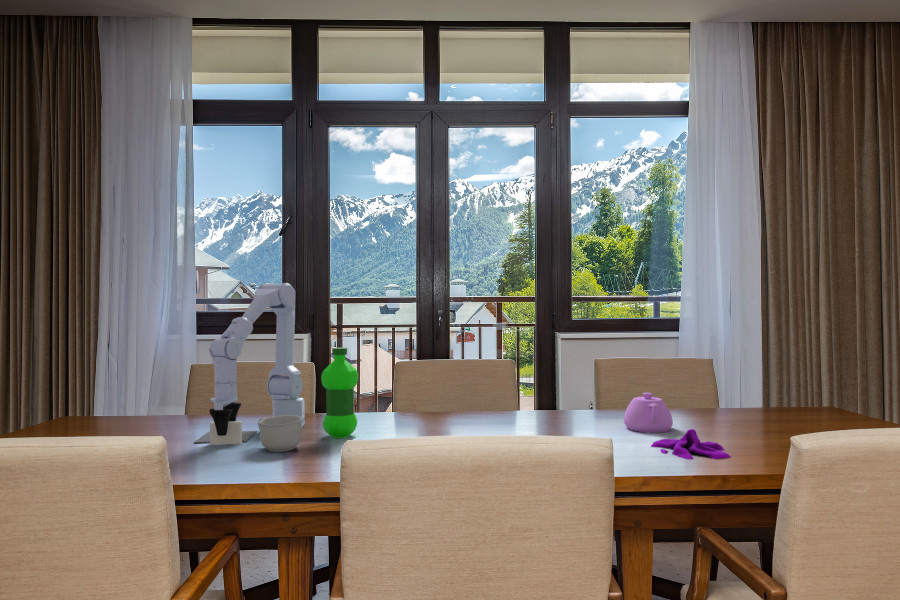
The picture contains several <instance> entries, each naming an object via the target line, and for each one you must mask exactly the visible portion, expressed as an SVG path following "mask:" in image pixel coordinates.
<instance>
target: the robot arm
mask: <svg viewBox="0 0 900 600" xmlns="http://www.w3.org/2000/svg"><path fill="white" fill-rule="evenodd" d="M266 309H270V310H271V311H273V313H274V314H275V315H276V328H275V329H276V333H275V365H274V367H273V368H272V369H271V370H270V371H269V372H268V378H267V382H266V392H267V394H268V395H269V396H270V399H272V417H273V416H280V415H295V416H300V417H301V418H302V428H303V427H304V426H305V425H306V418H305V416H306V414H305V412H306V411H305V409H306V408H305V406H306V405H305V398H304V397H300V395H301V394H302V391H303V387H304V385H303V380H302V372H301V371H300V370H299V369H298V368H297V367H295V366H294V364H295V363H294V362H295V327H296V326H295V322H296V290H295V288H294V287H293V286H292V285H291V283H288V282H283V283H261V284H259V286H258V287H257V289H255V291H254V298H253V299H252V301H251V302H250V304H249V305H248V307H247V308H246V310H245V312H244V313H243V314H242V316H239V317H236V318H233V319H232V320H231V323H230V325H229V326H228V328H226V330H225V331H224V332H223V333H222V335H221V336H220V337H218V338H215V339H214V340H213V341H212V343H211V344H210V347H209V348H208V351H209V356H210V357H211V358H212V359H211V360H212V363H213V368H214V377H213V378H214V381H213V382H214V397H211V398H210V399H209V402H210V403H211V402H212V403H214V404H213V405H214V407H213V408H210V409H209V410H208V411H209V414H210V416H211V417H212V420H213V422H214V423H215V427H216V431H217V435H218V436H226V434H227V430H228V422H229V421H237V417H238V416H237V415H238V413H239V410H240V409H241V406H242V402H238V401H239V400H238V399H239V398H238V373H237V372H238V368H237V367H238V362H237V361H238V358H239V357H240V356H241V355H242V352H243V346H244V343H245V342H246V340H247V339H248V337H249V335H251V334H252V332H253V330H254V326H253V324H254V323H255V322H256V320H257V319H259V318H260V316H261V315H262V314H263V313H264V312H265V311H266Z"/></svg>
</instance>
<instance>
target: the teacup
mask: <svg viewBox="0 0 900 600" xmlns="http://www.w3.org/2000/svg"><path fill="white" fill-rule="evenodd" d="M257 424H258V429H259V436H260V442H261V445H262V447H264V449H267V450H268V451H269V452H272V453H283V452H290V451H293V450H294V449H296V447H297V446H298V445H299V444H300V443H301V441H302V438H303V427H302V418H301V417H300V416H295V415H280V416H273V415H272V416H270V417H269V416H268V417H266V416H264V417H261V418H260V419H259V420H258V423H257Z"/></svg>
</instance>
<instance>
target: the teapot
mask: <svg viewBox="0 0 900 600" xmlns="http://www.w3.org/2000/svg"><path fill="white" fill-rule="evenodd" d="M642 395H643V396H642ZM642 395H641V396H640V395H639V396H636V397H634V398H632V400H631V401H630V403H629V404H628V406H627V407H626V409H625V413H624V416H623V423H624V426H626V428H627V429H628V428H629V430H630V429H631V430H630V431H633V430H634V431H633V432H637V431H640V432H639V433H646V432H650V433H651V434H652V433H656V434H659V433H666V432H669V430H670V429H671V428H672V427H673V424H674V423H673V421H674V420H673V417H672V413H671V410H670V409H669V407H668V405H667V404H666V403H665V401H664V400H663V398H661V397H660V398H659V397H656V396H653V393H652V392H643V393H642Z"/></svg>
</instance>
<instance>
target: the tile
mask: <svg viewBox="0 0 900 600" xmlns="http://www.w3.org/2000/svg"><path fill="white" fill-rule="evenodd" d="M242 431H243V420H242V421H241V420H240V421H239V420H236V421H229V422H228V430H227V434H226V436H218V435H217V431H216V427H215V423H214V421H211V422H209V432H210V443H209V445H210V446H220V445H219V444H234V445H242V444H243V442H242ZM241 443H242V444H241Z"/></svg>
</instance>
